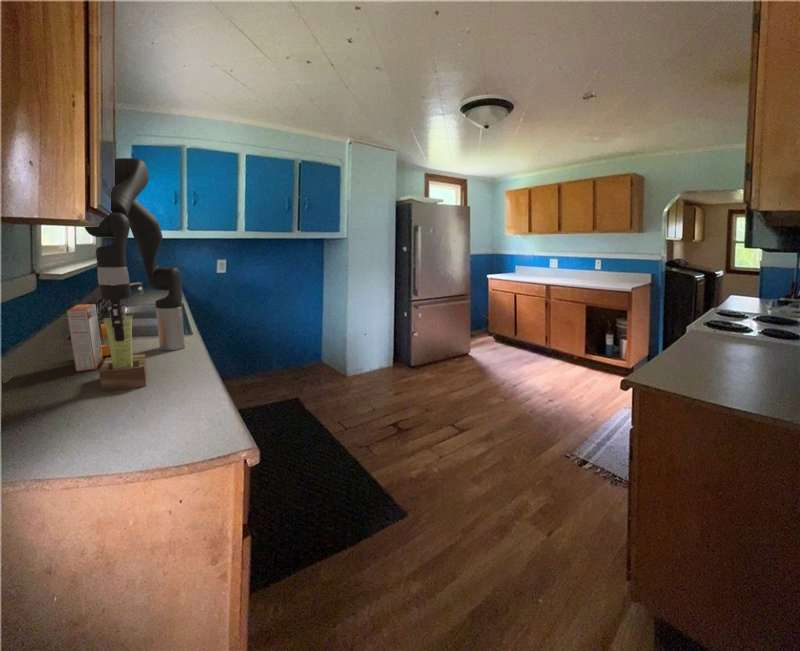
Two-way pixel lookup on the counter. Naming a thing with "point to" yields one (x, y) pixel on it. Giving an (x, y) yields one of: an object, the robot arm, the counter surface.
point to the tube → (120, 344)
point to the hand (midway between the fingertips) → (120, 338)
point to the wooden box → (123, 374)
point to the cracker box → (85, 336)
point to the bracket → (105, 347)
